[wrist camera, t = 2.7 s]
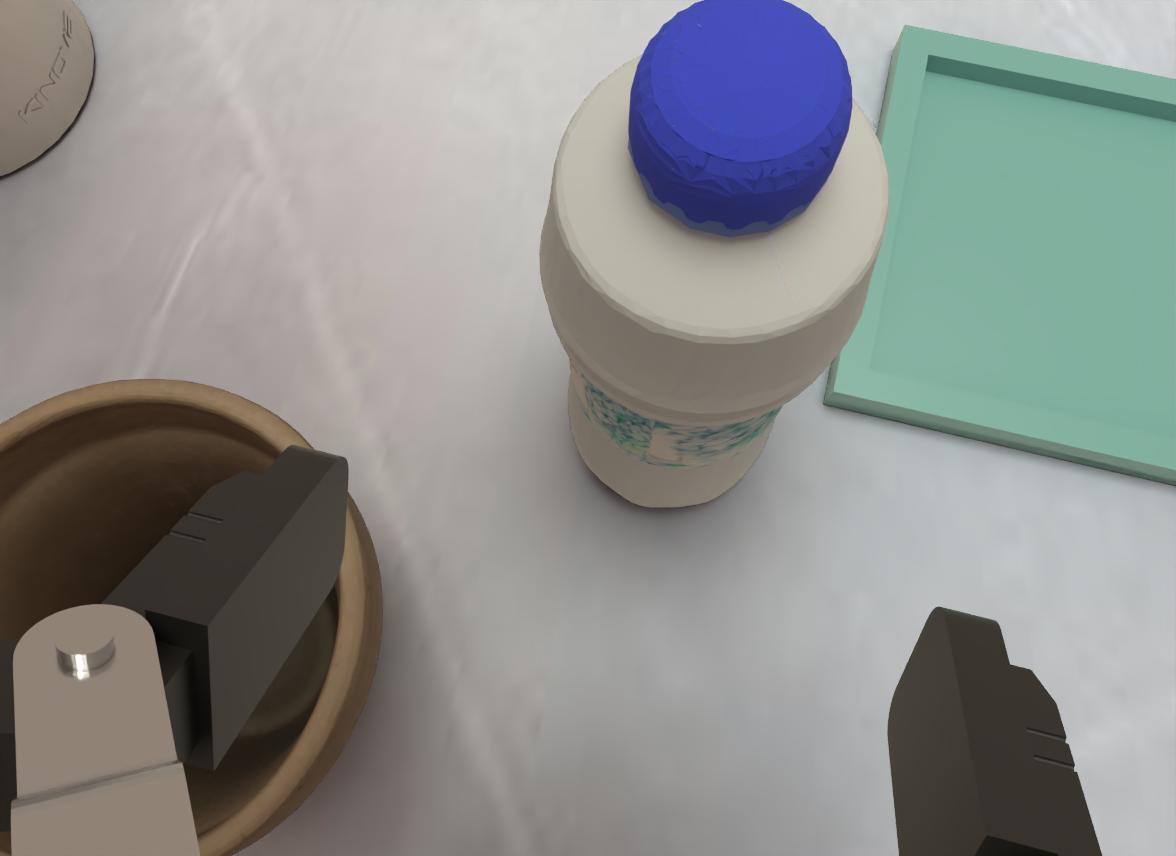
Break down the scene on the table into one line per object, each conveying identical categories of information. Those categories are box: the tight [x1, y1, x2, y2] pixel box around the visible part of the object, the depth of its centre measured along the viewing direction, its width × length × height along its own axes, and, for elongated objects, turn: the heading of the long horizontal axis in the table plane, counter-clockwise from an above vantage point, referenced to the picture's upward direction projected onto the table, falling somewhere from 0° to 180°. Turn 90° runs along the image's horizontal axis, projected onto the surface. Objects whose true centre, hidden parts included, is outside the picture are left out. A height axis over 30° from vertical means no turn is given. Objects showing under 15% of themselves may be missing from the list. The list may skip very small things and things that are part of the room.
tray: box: [824, 25, 1176, 486], centre depth 34 cm, size 14×14×2 cm
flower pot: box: [0, 379, 383, 856], centre depth 27 cm, size 12×11×10 cm
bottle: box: [540, 0, 890, 507], centre depth 24 cm, size 7×7×20 cm
